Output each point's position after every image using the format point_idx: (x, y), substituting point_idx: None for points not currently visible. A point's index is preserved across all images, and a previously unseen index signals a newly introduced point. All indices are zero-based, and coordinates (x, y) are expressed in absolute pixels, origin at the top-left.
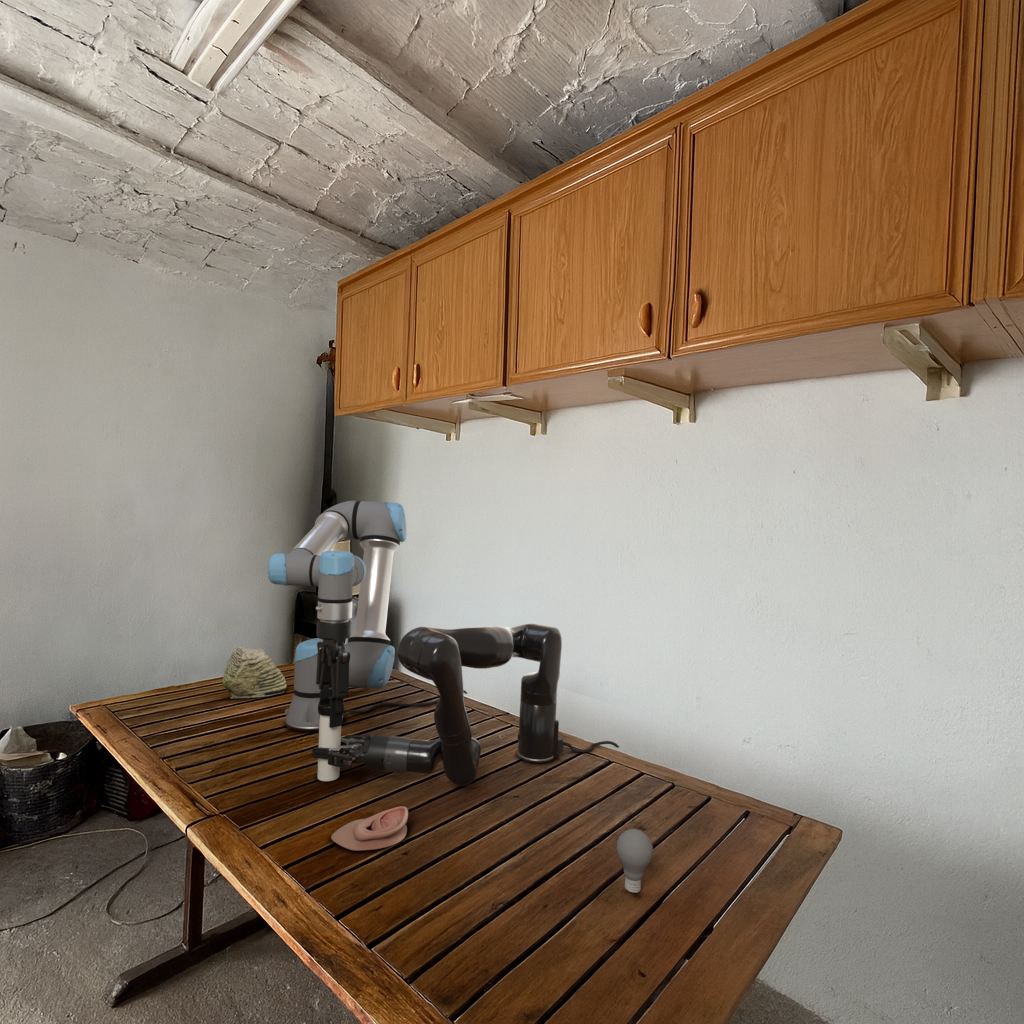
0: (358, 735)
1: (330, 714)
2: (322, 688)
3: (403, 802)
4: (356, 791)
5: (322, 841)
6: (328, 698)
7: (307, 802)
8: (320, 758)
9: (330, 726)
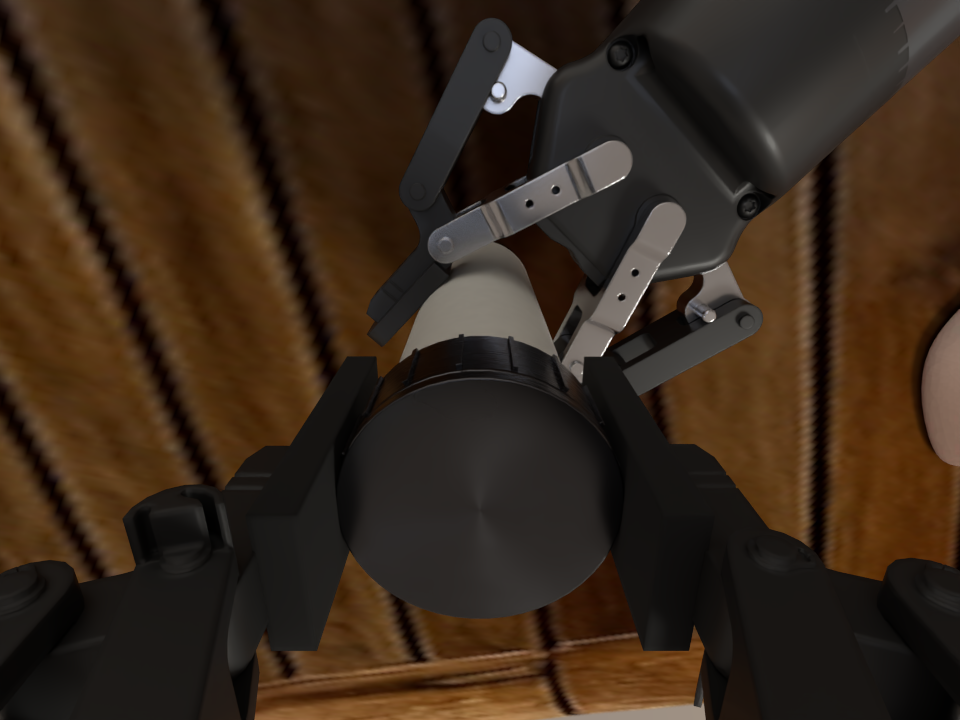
0: (443, 110)
1: None
2: (251, 641)
3: (942, 95)
4: None
5: (928, 482)
6: (340, 493)
7: None
8: None
9: None
